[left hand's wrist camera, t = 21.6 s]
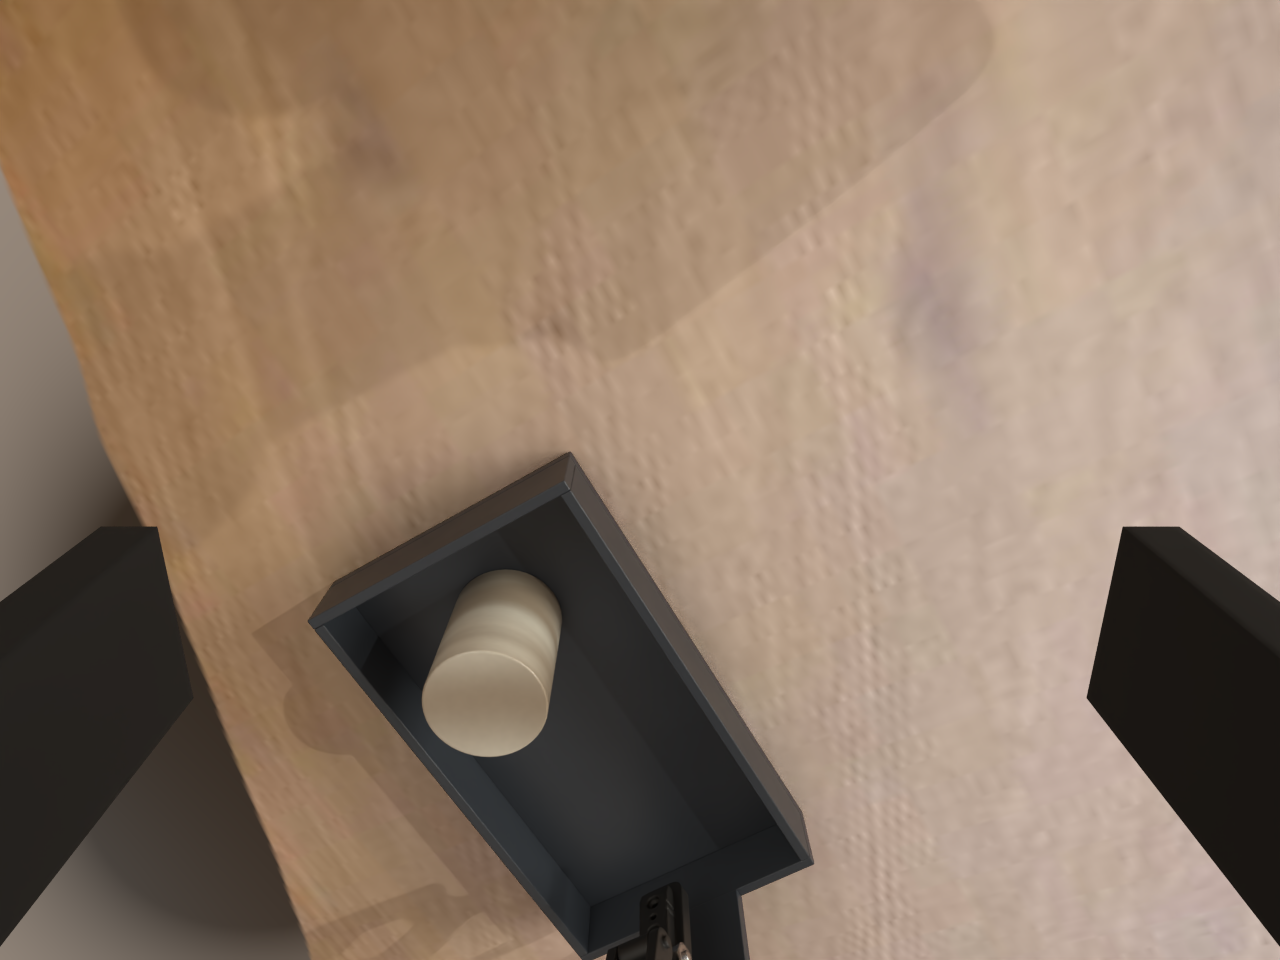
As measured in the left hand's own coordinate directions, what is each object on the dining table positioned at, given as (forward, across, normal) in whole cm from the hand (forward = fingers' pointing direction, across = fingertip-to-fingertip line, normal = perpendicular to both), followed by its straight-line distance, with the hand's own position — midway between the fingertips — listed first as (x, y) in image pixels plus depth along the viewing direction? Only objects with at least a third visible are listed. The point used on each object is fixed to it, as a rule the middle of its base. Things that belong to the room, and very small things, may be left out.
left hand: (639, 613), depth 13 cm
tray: (+27, -3, -20) cm, 34 cm away
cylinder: (+26, -6, -15) cm, 31 cm away
